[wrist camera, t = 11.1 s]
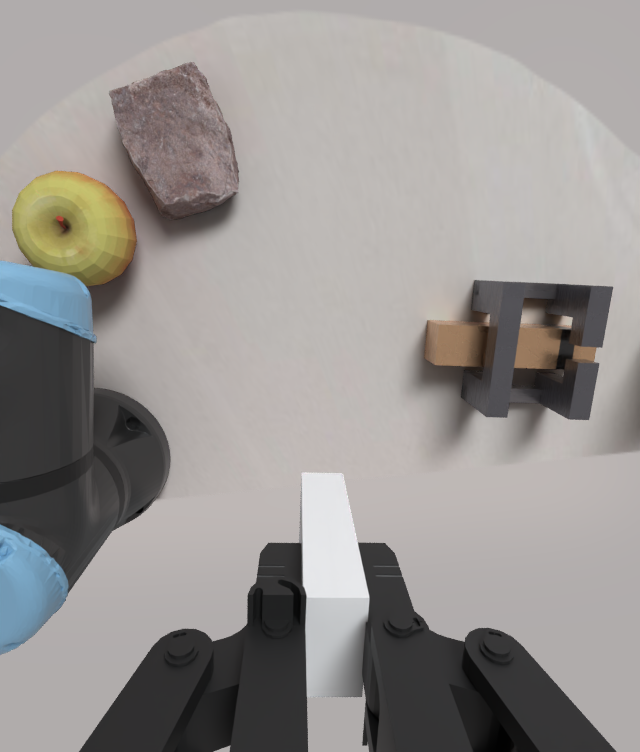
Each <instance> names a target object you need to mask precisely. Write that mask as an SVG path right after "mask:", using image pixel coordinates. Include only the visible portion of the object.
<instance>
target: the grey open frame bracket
mask: <svg viewBox="0 0 640 752" xmlns="http://www.w3.org/2000/svg"><path fill="white" fill-rule="evenodd" d="M612 290H613V287H608V286H589V285H569V284H547V283H524V282H502V281H479V280H475V281H474V290H473V298H472V307H471V310H475V311H480V312H484V313H489V314H490V322H489V330H488V338H487V346H486V354H485V362H484V370H483V371H472V370H464V376H463V385H462V394H461V397H462V398H463V399H464V400H465V401H467V402H468V403H469V404H471V405H472V406H473V407H474V408H476V409H477V410H478V411H479V412H481V413H482V414H483V415H485V416H486V417H505V418H507V415H508V408H509V402H519V403H540V404H542V405H544V406H546V407H547V408H549V409H551V410H553V411H555V412H556V413H558V414H560V415H562V416H564V417H565V418H567V419H575V420H589V417H590V412H591V406H592V401H593V395H594V390H595V384H596V379H597V373H598V368H599V363H596V362H593V361H590V360H587V359H566V363H565V369H564V375H563V377H562V376H560V375H557V374H555V373H536V379H535V386H516V385H512V380H513V372H514V365H515V358H516V351H517V344H518V337H519V329H520V322H521V315H522V308H523V301H524V298H542V299H548V300H547V307H546V313H551V314H557V315H563V316H568V317H573V320H572V327H571V333H570V339H569V344H573V345H577V346H580V347H602V346H603V340H604V335H605V329H606V324H607V318H608V313H609V307H610V302H611V296H612Z"/></svg>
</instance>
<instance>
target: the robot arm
mask: <svg viewBox="0 0 640 752" xmlns="http://www.w3.org/2000/svg"><path fill="white" fill-rule="evenodd" d="M96 341H97V338H96V336H95V335H94V334H93V319H92V301H91V296H90V293H89V291H88V289H87V287H86V286H85V285H84V284H83V283H82V282H81V281H80V280H79V279H78V278H76V277H74V276H72V275H70V274H66V273H62V272H58V271H53V270H48V269H43V268H38V267H32V266H27V265H22V264H17V263H12V262H6V261H1V260H0V655H1V654H4V653H6V652H9V651H11V650H13V649H15V648H17V647H18V646H20V645H21V644H23V643H25V642H26V641H27V640H28V639H30V638H31V637H32V636H34V635H35V634H36V633H37V632H38V630H39V629H40V628H41V627H42V626H43V625H44V624H45V623H46V622H47V620H48V619H49V618H50V617H51V616H52V615H53V614H54V613H55V612H57V611H58V610H59V609H60V608H61V606H62V605H63V603H64V602H65V601H66V599H65V598H66V597H67V595H68V593H69V591H70V590H71V588H72V587H73V586H74V584H75V583H76V581H77V580H78V579H79V577H80V576H81V574H82V573H83V572H84V570H85V569H86V567H87V566H88V564H89V563H90V562H91V560H92V559H93V557H94V556H95V554H96V553H97V552H98V550H99V549H100V547H101V546H102V545H103V543H104V542H105V540H106V539H107V538H108V536H109V535H110V533H111V532H112V531H113V530H115V529H117V528H119V527H120V526H122V525H124V524H126V523H128V522H130V521H132V520H133V519H135V518H137V517H138V516H139V515H141V514H142V513H143V512H144V511H146V510H147V509H148V508H149V507H150V506H151V504H152V503H153V502H154V501H155V499H156V498H157V496H158V495H159V493H160V491H161V490H162V488H163V486H164V484H165V482H166V480H167V477H168V473H169V468H170V450H169V445H168V441H167V438H166V436H165V433H164V431H163V429H162V427H161V426H160V424H159V423H158V421H157V420H156V418H155V417H154V416H153V415H152V414H151V413H150V412H149V411H148V410H147V409H146V408H145V407H144V406H142V405H141V404H140V403H138V402H137V401H135V400H134V399H132V398H130V397H128V396H126V395H124V394H121V393H118V392H115V391H112V390H107V389H100V388H94V343H96ZM363 683H364V690H365V696H366V704H365V717H364V730H363V745H367V743H368V746H369V752H616V751H615V750H614V749H613V748H612V746H611V745H610V744H609V743H608V742H607V741H606V739H605V738H604V737H603V736H602V735H601V734H600V733H599V732H598V730H597V729H596V728H595V727H594V726H593V725H592V724H591V723H590V721H589V720H588V719H587V718H586V717H585V716H584V715H583V714H582V712H581V711H580V710H579V709H578V708H577V707H576V706H575V705H574V704H573V703H572V701H571V700H570V699H569V698H568V697H567V696H566V695H565V693H564V692H563V691H562V690H561V689H560V688H559V687H558V686H557V684H556V683H555V682H554V681H553V680H552V679H551V678H550V677H549V675H548V674H547V673H546V672H545V671H544V670H543V669H542V668H541V667H540V665H539V664H538V663H537V662H536V661H535V660H534V659H533V658H532V657H531V655H530V654H529V653H528V652H527V651H526V650H525V648H524V647H523V646H522V645H521V644H519V642H517V641H516V640H515V639H514V638H513V637H511V636H509V635H507V634H505V633H504V632H501V631H498V630H494V629H491V628H478V629H475V630H473V631H471V632H469V634H468V635H467V637H466V638H465V642H463V641H458V640H455V639H451V638H447V637H444V636H441V635H438V634H436V633H434V632H433V631H431V630H429V627H428V625H427V624H426V622H425V621H424V619H423V618H422V617H421V616H420V615H418V614H417V613H416V612H414V609H413V606H412V603H411V600H410V597H409V594H408V591H407V588H406V585H405V582H404V579H403V577H402V574H401V570H400V568H399V564H398V562H397V558H396V556H395V553H394V552H393V551H392V550H391V549H390V548H389V547H388V546H387V545H386V544H385V543H358V542H357V538H356V533H355V528H354V523H353V519H352V514H351V509H350V505H349V500H348V496H347V491H346V486H345V481H344V477H343V473H305V472H302V478H301V506H300V534H299V543H268V544H267V545H266V547H265V548H264V549H263V550H262V552H261V553H260V559H259V567H258V574H257V581H256V584H254V585H253V586H252V587H251V589H250V591H249V593H248V623H247V625H246V626H245V627H244V628H243V629H242V630H241V631H239V632H238V633H236V634H234V635H232V636H230V637H227V638H224V639H220V640H217V641H213V642H212V640H211V639H210V638H209V637H208V635H207V634H206V633H204V632H201V631H199V630H196V629H182V630H178V631H173V632H171V633H169V634H167V635H165V636H164V637H162V638H160V640H159V641H158V642H157V643H156V644H155V645H154V646H153V647H152V648H151V650H150V651H149V652H148V654H147V655H146V657H145V658H144V660H143V661H142V663H141V664H140V665H139V667H138V668H137V670H136V671H135V673H134V674H133V676H132V677H131V678H130V680H129V681H128V683H127V684H126V685H125V687H124V688H123V690H122V691H121V693H120V694H119V695H118V697H117V698H116V700H115V701H114V703H113V704H112V705H111V707H110V708H109V710H108V711H107V713H106V714H105V715H104V717H103V718H102V720H101V721H100V723H99V724H98V725H97V727H96V728H95V730H94V731H93V733H92V734H91V736H90V737H89V738H88V740H87V741H86V743H85V744H84V746H83V747H82V748H81V750H80V751H79V752H213V751H216V750H219V749H221V748H224V747H227V746H230V745H231V747H230V752H308V728H307V697H362V689H363Z"/></svg>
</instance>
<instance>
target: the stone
mask: <svg viewBox="0 0 640 752" xmlns="http://www.w3.org/2000/svg"><path fill="white" fill-rule="evenodd" d="M109 95H110V97H111V98H112V105H113V109H114V115H115V118H116V122H117V126H118V130H119V132H120V134H121V136H122V138H123V140H122V142H123V145H124V147H125V148H126V149H127V152H128V155H129V158H130V160H131V163H132V164H133V166H134V167H135V169H136V171H137V172H138V174H139V175H140V176H141V177H142V179H143V180H144V183H145V185H146V186H147V187H148V190H149V191H150V193H151V195H152V197H153V200H154V202H155V204H156V206H157V208H158V211H159V212H160V214H161V216H163V217H165V218H167V219H169V220H173V219H181V218H184V217H186V216H190V215H192V214H195V213H199V212H204V211H207V210H210V209H212V208H214V207H217V206H218V205H220V204H222V203H224V202H225V201H226V200H227V199H229V198H231V197H232V196H233V195H236V193H238V182H239V178H238V172H239V170H238V167H237V161H236V158H235V151H234V146H233V142H232V135H231V132H230V129H229V127H228V126H227V124H226V123H225V121H224V119H223V116H222V113H221V110H220V108H219V106H218V104H217V103H216V101H215V100H214V99H213V96H212V94H211V91H210V89H209V85H208V83H207V79H206V78H205V76H204V75H203V73H202V72H201V71H199V70H198V68H197V66H196V65H195V63H194V62H190V63H185V64H182V65H180V66H178V67H176V68H173V69H171V70H165V71H161V72H159V73H157V74H156V75H154V76H152V77H149V78H146V79H143V80H139V81H136V82H133V83H132V84H130V85H127V86H125V87H122V88H117V89H114V90H110V91H109Z"/></svg>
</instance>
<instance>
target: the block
mask: <svg viewBox="0 0 640 752" xmlns="http://www.w3.org/2000/svg"><path fill="white" fill-rule="evenodd" d="M571 327H572V326H567V325H541V324H520V329H519V337H518V344H517V351H516V358H515V365H514V368H536V369H565V363H566V359H587V360H590V361H593V362H594V359H595V353H596V347H580V346H577V345H573V344H569V339H570V333H571ZM488 330H489V323H488V322H462V321H436V320H428V323H427V334H426V344H425V355H424V358H425V359H427V360H428V361H430V362H431V363H433V364H434V365H445V366H476V367H484V362H485V354H486V346H487V338H488Z"/></svg>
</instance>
